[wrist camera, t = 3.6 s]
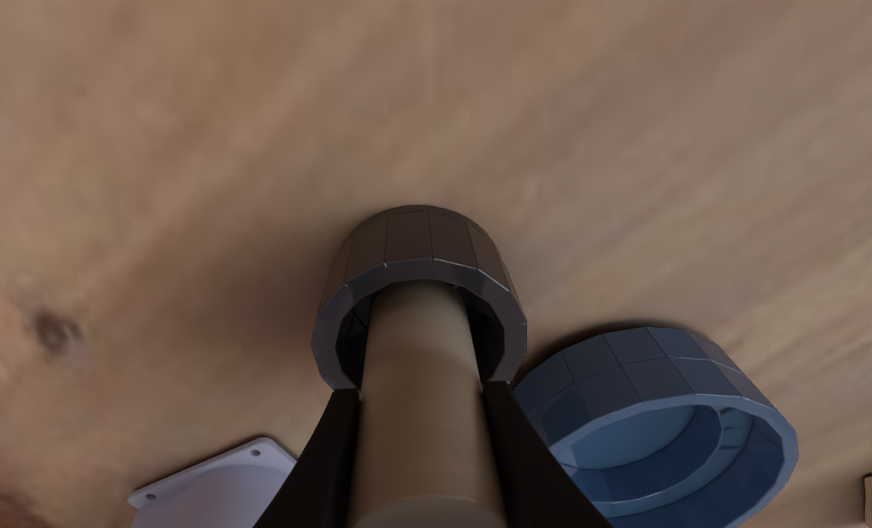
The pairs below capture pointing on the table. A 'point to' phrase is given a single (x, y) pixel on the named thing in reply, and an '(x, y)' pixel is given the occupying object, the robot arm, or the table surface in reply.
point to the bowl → (660, 429)
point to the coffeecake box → (868, 501)
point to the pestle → (422, 418)
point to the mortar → (415, 260)
